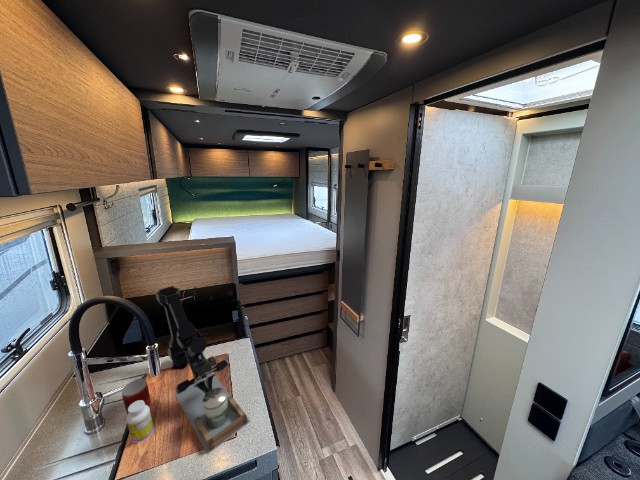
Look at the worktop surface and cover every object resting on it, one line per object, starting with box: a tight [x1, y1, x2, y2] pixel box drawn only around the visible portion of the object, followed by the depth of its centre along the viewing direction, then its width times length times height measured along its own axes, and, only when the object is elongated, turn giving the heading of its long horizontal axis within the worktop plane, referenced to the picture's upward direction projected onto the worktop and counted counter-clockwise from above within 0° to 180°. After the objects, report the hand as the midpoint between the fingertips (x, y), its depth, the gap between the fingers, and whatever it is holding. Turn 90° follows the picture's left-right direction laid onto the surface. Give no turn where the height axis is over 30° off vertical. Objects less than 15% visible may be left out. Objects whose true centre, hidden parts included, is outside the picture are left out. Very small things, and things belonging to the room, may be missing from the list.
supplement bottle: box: [125, 400, 155, 444], centre depth 88 cm, size 7×7×13 cm
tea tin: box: [203, 388, 229, 429], centre depth 93 cm, size 8×8×10 cm
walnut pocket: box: [195, 395, 248, 451], centre depth 92 cm, size 12×14×3 cm
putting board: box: [174, 375, 252, 455], centre depth 99 cm, size 34×16×1 cm, turn 46°
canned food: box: [121, 378, 152, 416], centre depth 98 cm, size 8×8×11 cm
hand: (211, 397), depth 96 cm, fingers closed
